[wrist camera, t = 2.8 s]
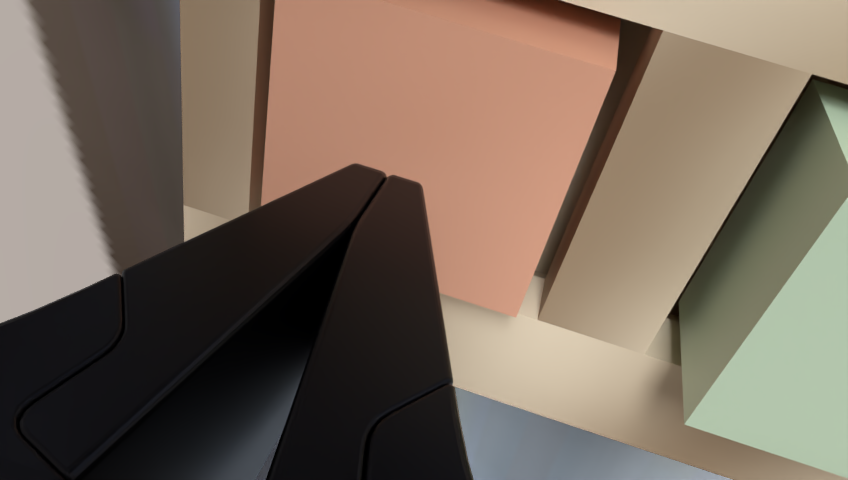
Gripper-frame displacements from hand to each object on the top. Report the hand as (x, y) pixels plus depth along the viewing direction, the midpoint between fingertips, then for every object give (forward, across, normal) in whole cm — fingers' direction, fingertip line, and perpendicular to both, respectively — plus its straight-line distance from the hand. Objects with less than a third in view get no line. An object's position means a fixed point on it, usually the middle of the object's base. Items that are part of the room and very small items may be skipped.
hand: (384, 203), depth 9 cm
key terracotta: (+3, 0, 0) cm, 3 cm away
